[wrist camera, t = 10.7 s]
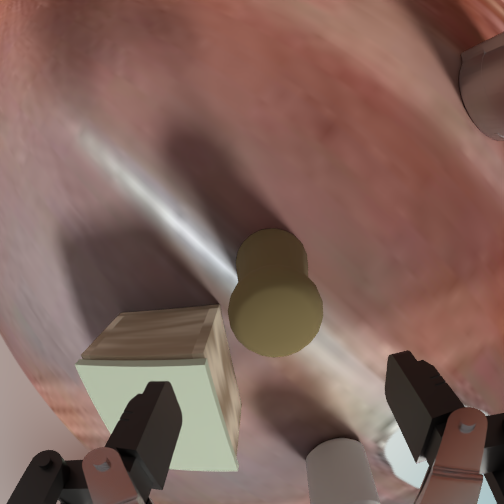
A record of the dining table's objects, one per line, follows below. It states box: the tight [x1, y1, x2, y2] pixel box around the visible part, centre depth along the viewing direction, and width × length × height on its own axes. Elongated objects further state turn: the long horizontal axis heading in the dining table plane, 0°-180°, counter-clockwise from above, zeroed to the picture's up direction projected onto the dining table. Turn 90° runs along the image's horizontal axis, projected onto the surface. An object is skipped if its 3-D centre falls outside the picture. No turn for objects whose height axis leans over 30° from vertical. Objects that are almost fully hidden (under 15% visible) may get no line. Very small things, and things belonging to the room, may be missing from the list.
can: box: [306, 438, 380, 504], centre depth 26 cm, size 8×8×12 cm
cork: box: [228, 228, 323, 357], centre depth 20 cm, size 6×6×11 cm
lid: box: [75, 358, 239, 471], centre depth 20 cm, size 12×10×1 cm
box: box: [81, 304, 242, 455], centre depth 25 cm, size 12×10×8 cm
